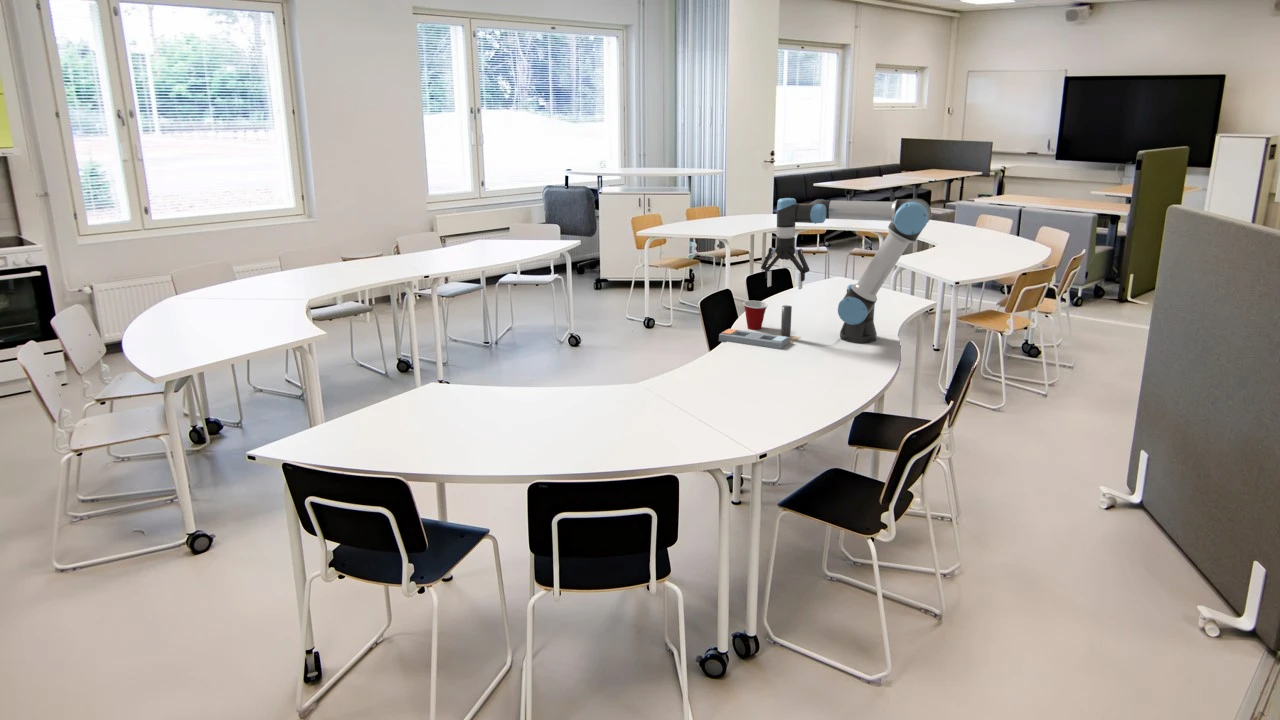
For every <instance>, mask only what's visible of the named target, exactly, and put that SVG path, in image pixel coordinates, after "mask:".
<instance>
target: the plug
mask: <svg viewBox="0 0 1280 720" xmlns="http://www.w3.org/2000/svg"><path fill="white" fill-rule="evenodd" d="M792 309H793V308H792V305H787V304H786V305H785V304H784V305H782V306H781V320H780V321H781V322H780V323H781V324H780V325H781V326H780V334H781V336H785V337H790V336H792V335H791V333H792V332H791V330H792V329H791V328H792Z"/></svg>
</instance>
